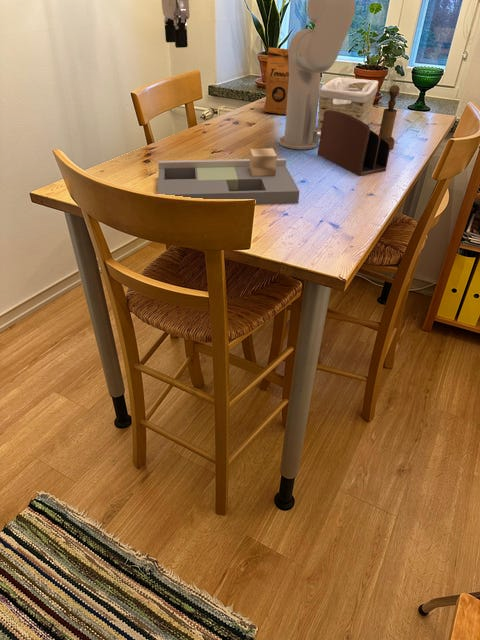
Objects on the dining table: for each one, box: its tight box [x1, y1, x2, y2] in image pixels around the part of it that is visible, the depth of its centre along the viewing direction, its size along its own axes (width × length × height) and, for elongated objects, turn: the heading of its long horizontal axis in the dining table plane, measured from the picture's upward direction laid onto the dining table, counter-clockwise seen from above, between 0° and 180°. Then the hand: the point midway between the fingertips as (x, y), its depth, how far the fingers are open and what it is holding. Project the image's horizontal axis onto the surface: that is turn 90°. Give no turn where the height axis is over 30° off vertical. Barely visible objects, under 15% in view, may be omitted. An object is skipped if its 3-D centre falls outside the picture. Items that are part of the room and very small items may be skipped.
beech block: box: [249, 147, 278, 176], centre depth 120 cm, size 6×6×5 cm
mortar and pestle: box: [378, 84, 401, 150], centre depth 144 cm, size 7×6×18 cm
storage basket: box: [316, 76, 379, 131], centre depth 160 cm, size 24×16×15 cm
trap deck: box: [156, 157, 300, 205], centre depth 118 cm, size 34×19×4 cm, turn 97°
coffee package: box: [263, 47, 289, 116], centre depth 174 cm, size 10×12×22 cm
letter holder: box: [317, 110, 391, 177], centre depth 133 cm, size 10×20×14 cm, turn 29°
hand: (176, 44), depth 124 cm, fingers open, 9 cm apart
